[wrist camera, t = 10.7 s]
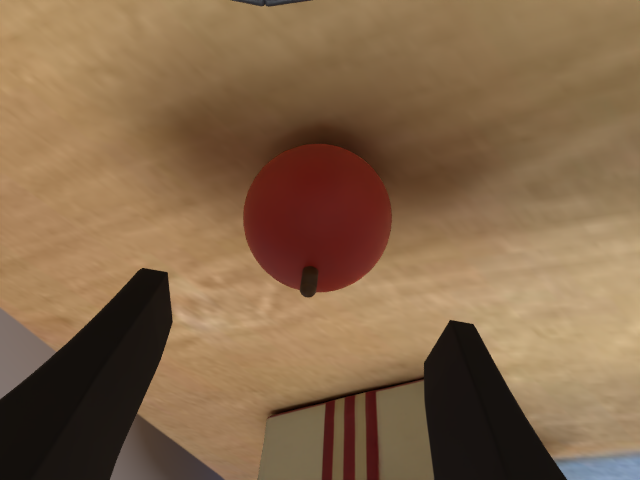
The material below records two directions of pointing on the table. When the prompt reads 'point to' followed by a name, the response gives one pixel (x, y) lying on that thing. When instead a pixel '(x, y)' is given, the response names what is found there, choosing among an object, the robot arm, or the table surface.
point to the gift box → (351, 438)
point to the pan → (269, 2)
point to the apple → (317, 218)
